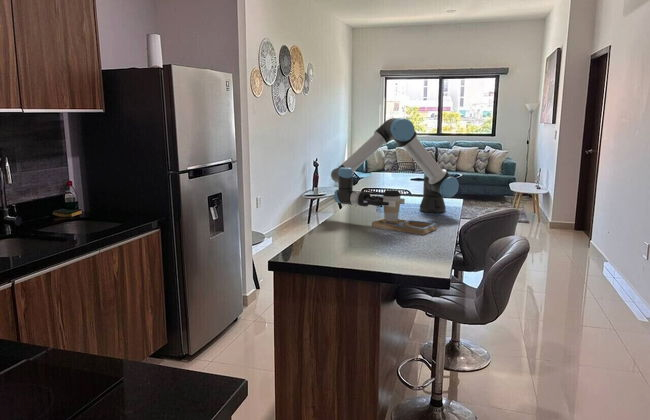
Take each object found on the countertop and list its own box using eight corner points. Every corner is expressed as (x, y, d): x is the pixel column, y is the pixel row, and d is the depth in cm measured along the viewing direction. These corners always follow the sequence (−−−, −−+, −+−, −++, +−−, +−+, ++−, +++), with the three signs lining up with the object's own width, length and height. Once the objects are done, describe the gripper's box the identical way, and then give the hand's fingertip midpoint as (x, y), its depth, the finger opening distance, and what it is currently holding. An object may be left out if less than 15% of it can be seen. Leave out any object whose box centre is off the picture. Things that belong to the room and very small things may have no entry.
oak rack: (386, 221, 255) (386, 216, 254) (436, 229, 239) (436, 223, 238) (371, 226, 243) (371, 221, 243) (423, 234, 227) (423, 228, 226)
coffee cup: (401, 218, 247) (402, 189, 244) (398, 222, 239) (399, 192, 236) (384, 217, 250) (384, 188, 247) (380, 220, 242) (380, 191, 239)
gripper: (371, 202, 262) (409, 207, 249) (349, 209, 245) (389, 213, 232) (371, 189, 261) (409, 192, 248) (349, 194, 244) (389, 198, 231)
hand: (399, 202), depth 240 cm, fingers closed on coffee cup, 9 cm apart
